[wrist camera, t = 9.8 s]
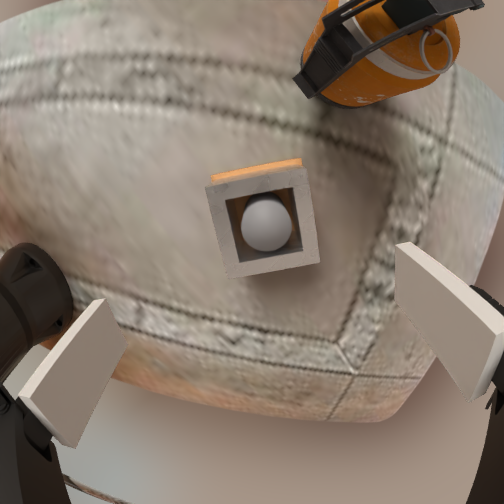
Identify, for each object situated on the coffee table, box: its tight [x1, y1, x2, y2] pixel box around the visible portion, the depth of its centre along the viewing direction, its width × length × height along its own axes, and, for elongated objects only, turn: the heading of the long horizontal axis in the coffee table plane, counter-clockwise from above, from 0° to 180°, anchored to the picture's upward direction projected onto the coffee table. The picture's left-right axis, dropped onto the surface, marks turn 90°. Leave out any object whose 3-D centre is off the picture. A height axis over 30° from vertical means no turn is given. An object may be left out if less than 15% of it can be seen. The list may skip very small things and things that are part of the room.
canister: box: [292, 0, 485, 109], centre depth 15 cm, size 9×11×20 cm
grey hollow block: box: [205, 164, 320, 279], centre depth 25 cm, size 8×8×6 cm
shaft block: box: [211, 158, 302, 251], centre depth 26 cm, size 9×9×8 cm
